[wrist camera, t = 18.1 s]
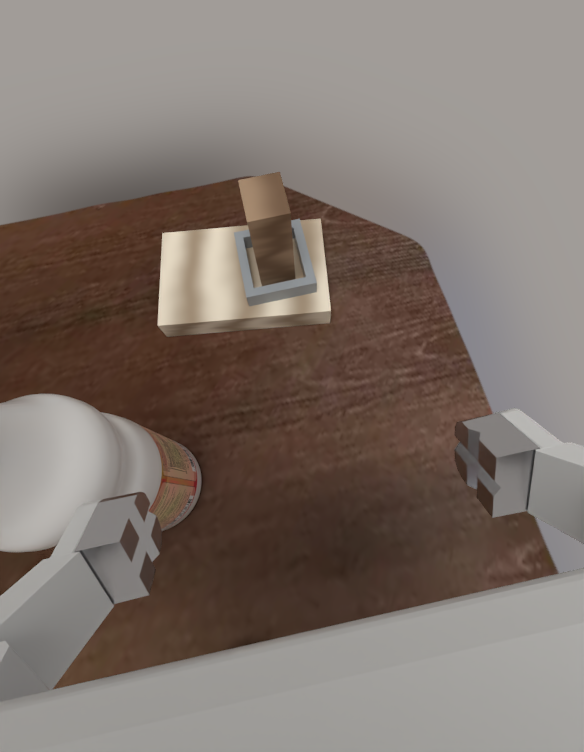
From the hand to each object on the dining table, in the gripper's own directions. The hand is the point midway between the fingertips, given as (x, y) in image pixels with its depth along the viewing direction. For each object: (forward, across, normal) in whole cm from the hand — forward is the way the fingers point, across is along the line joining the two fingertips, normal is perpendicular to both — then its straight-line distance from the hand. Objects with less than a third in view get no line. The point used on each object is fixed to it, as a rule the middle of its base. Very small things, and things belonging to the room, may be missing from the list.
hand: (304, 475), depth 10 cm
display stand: (+41, +2, +3) cm, 41 cm away
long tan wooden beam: (+39, -2, +1) cm, 39 cm away
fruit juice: (+26, +16, +19) cm, 35 cm away
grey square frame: (+39, -2, +1) cm, 39 cm away
